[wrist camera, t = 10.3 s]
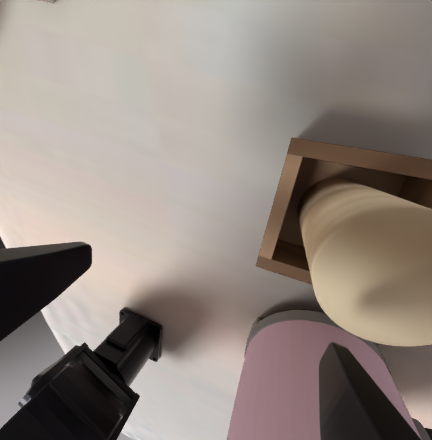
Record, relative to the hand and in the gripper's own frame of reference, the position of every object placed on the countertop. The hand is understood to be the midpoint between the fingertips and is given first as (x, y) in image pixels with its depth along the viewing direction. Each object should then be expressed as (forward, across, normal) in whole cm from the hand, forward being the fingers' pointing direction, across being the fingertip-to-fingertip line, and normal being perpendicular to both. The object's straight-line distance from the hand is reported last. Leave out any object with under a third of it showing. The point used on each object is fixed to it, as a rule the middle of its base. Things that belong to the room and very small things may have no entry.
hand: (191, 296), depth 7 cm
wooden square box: (+12, -6, -2) cm, 14 cm away
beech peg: (+12, -6, -2) cm, 13 cm away
